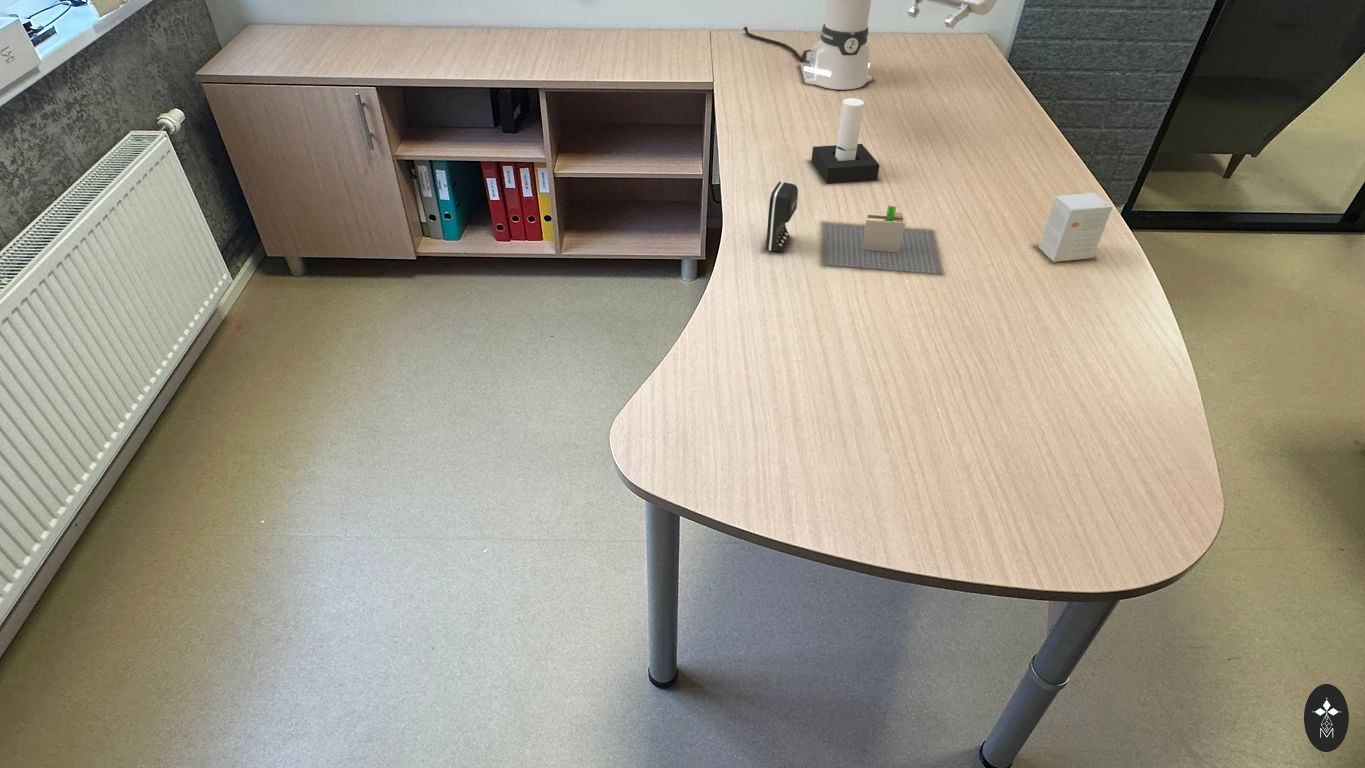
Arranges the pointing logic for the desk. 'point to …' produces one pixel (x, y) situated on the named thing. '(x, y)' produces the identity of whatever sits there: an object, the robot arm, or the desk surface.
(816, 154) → the socket pad
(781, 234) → the black plastic handset
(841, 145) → the tube
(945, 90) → the desk surface
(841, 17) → the robot arm
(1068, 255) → the small box
